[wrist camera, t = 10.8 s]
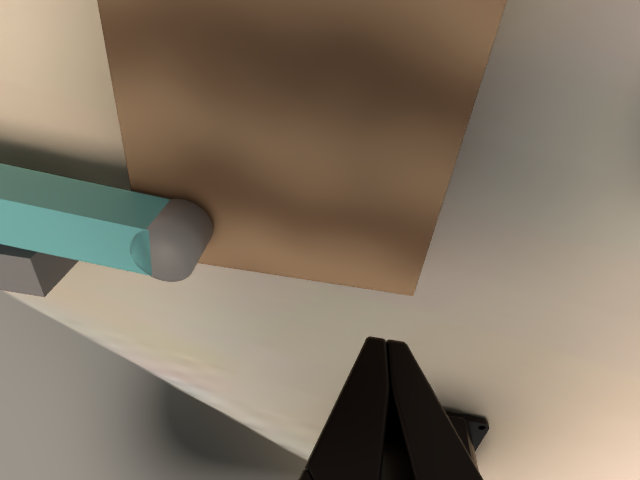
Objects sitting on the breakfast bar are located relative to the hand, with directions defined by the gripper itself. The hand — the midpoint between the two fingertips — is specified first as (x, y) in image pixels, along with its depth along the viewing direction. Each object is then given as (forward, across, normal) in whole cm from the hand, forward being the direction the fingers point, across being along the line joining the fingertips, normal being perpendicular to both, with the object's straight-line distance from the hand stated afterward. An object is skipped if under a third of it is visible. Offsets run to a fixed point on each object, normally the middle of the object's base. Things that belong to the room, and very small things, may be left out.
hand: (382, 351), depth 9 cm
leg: (+10, +15, +4) cm, 18 cm away
